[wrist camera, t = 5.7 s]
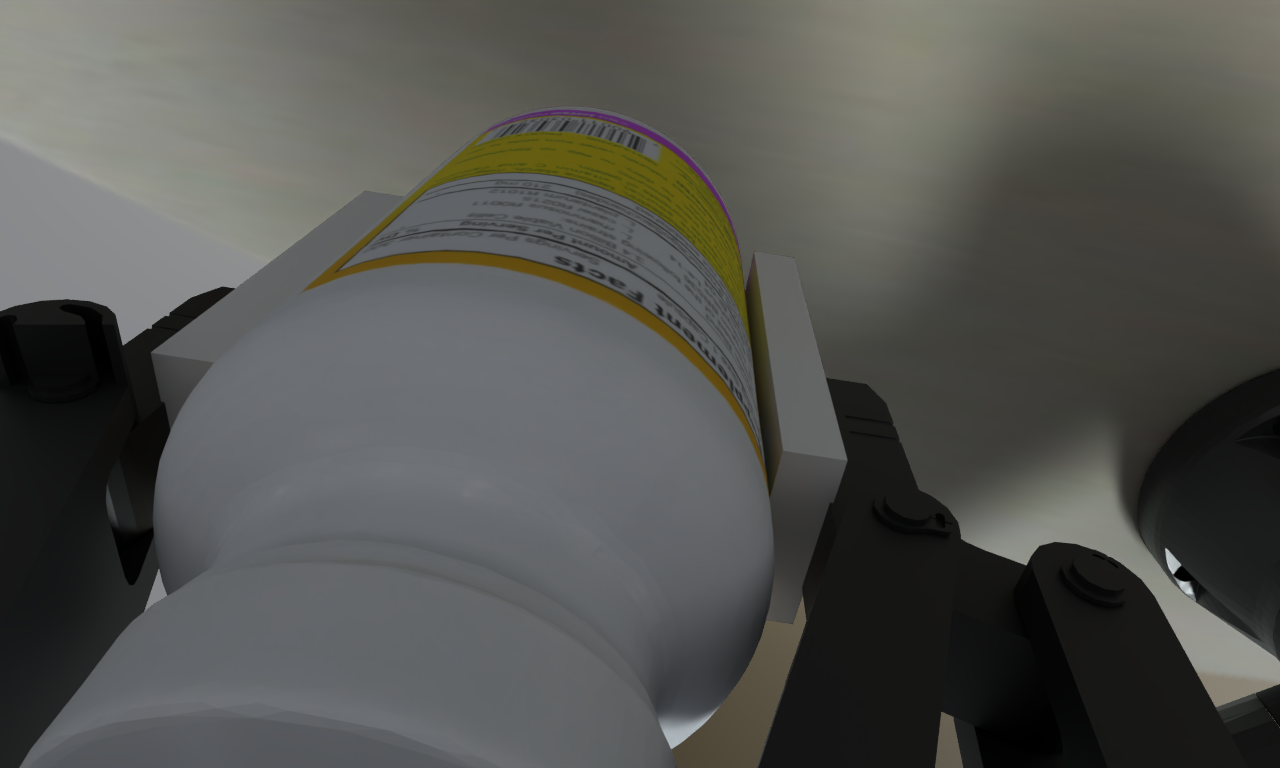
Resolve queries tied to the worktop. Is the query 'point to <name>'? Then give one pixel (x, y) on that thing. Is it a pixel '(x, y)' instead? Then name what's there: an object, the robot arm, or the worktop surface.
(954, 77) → the worktop surface
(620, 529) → the supplement bottle
